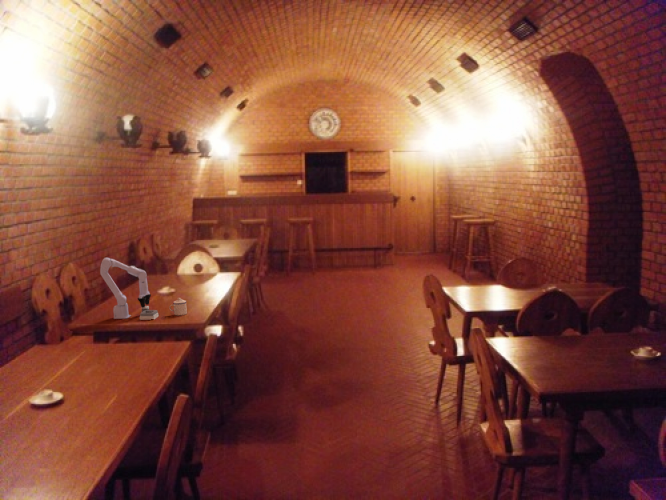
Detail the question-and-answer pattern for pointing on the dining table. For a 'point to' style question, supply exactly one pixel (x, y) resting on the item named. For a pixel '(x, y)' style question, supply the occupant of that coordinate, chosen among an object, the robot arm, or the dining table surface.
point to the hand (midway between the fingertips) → (145, 305)
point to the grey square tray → (148, 315)
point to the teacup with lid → (179, 307)
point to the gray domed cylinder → (145, 308)
